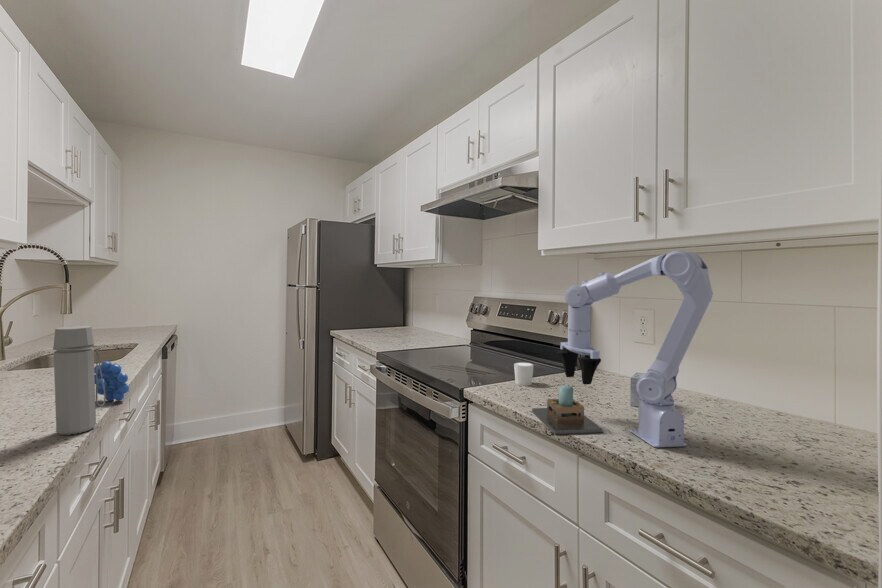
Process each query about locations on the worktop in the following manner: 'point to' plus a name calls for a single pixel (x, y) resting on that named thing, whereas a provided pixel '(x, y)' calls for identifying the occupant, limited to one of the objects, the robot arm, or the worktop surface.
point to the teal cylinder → (565, 398)
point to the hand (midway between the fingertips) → (578, 380)
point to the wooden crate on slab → (566, 418)
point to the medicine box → (634, 389)
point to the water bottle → (75, 379)
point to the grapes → (111, 381)
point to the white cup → (523, 373)
